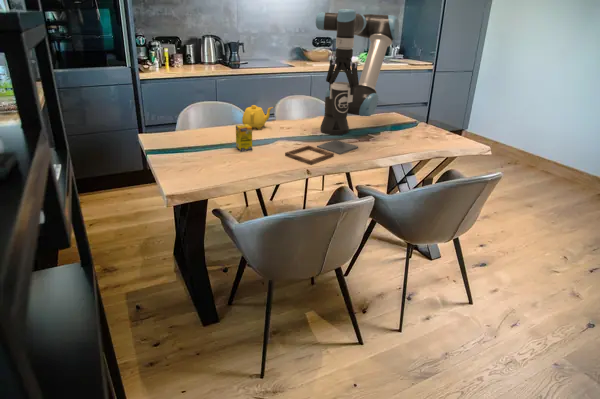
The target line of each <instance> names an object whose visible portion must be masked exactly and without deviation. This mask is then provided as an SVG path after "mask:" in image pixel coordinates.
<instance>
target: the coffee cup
mask: <svg viewBox="0 0 600 399" xmlns="http://www.w3.org/2000/svg"><path fill="white" fill-rule="evenodd" d="M349 87H350V85H349V82H348V81H335V82H334V83H333V85H332V86H331V88H332V105H333V117H335V118H347V117H348V106H349V103H348V102H347V100H348V88H349Z"/></svg>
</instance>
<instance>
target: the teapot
mask: <svg viewBox="0 0 600 399" xmlns="http://www.w3.org/2000/svg"><path fill="white" fill-rule="evenodd" d="M273 108H274V107H273V106H272V107H267V111H266V112H267V113H266V114H265V112H264V111H263V108H262V107H260V106H257V105H255V104H252V105H251V106H249V107H248V106H247V107H246V108H245V110H244V112H243V115H242V119H241V122H242V125H246V124H248V125H249V126H251V127H252V128H256V130H262V127H264V126H265V124H266V123H267V121H268V120H269V118H270V113H271V110H272V109H273Z"/></svg>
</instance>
